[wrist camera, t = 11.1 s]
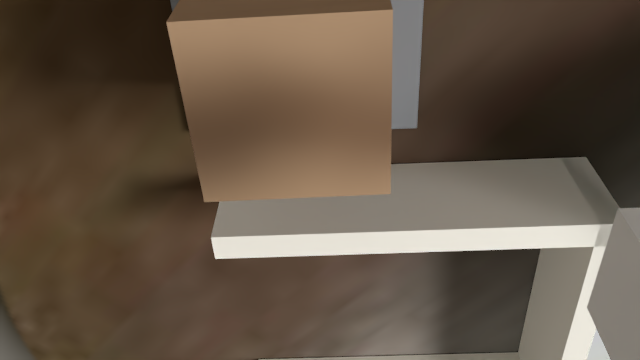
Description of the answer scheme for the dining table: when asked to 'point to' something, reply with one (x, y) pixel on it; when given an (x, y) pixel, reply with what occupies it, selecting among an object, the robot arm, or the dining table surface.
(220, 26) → the block
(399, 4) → the pad
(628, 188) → the dining table surface
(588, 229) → the cream u-shaped frame
